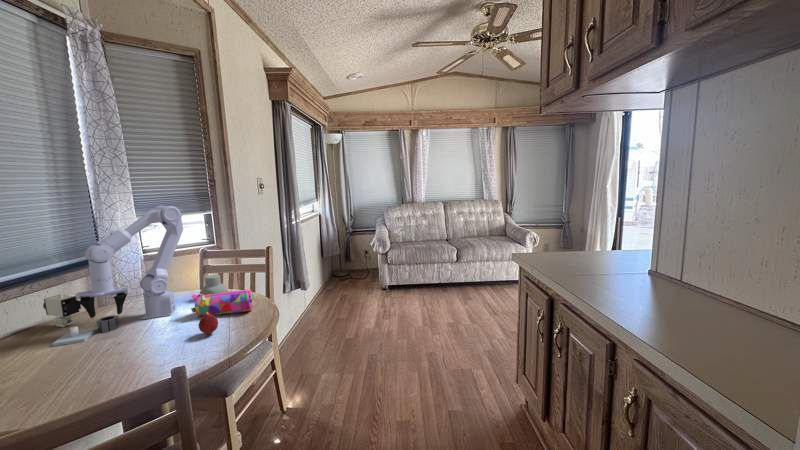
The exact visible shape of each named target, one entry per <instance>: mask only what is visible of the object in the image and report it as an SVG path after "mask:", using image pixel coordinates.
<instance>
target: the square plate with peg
mask: <svg viewBox="0 0 800 450" xmlns="http://www.w3.org/2000/svg"><path fill="white" fill-rule="evenodd" d="M96 332H97V330H96V328H92V329H87V330H86V329H84V330H80V331H79V326H78V325H77V326H75V325H74V326H70V327H69V332H66V333H64V334H63V335H61V336H60V337H59V338H58V339H57V340H55V341H54V342H52V347H58V346H65V345H72V344H76V343H83V342H86V341H87V340H88V339H89V338H91V336H93V335H94V333H96Z"/></svg>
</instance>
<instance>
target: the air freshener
mask: <svg viewBox="0 0 800 450" xmlns="http://www.w3.org/2000/svg"><path fill="white" fill-rule="evenodd" d="M204 279H205V280H204V281H205V286H203V287H202V288H201V289H200V290H199V294H203V295H208V294H217V293H221V292H227V291H228V286H226V285H225V284H223V283H221V275H220V274H210V275H207V276H205V278H204Z"/></svg>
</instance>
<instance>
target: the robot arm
mask: <svg viewBox="0 0 800 450" xmlns="http://www.w3.org/2000/svg"><path fill="white" fill-rule="evenodd" d="M182 217H183V214H182V213H181V211H180V210H179V209H178V207H176V206H174V205H157V206H155V207H154V208H152V209H150V210H149V211H147V212H146V213H144V214H143V215H142V216H140V217H139V218H138V219H137V220H135V221H134V222H132V223H131V224H129V226H127V227H126V228H124V229H117V230H112V231H110V232H109V235H108V236H106V237H105V238H103V239H101V240H98V241H96V242H95V243H96V244H94V245H93V244H92V245H90V246H88V247H87V248H86V250H85V253H84V255H83V256H84V257H85V259H86V260H88V271H89V278H90V285H91V290H87V291H80V292H77V293H75V295H74V296H76V300H77V299H78V301H79V303H80V304H81V307H83V308H84V310H85V311H86V312H87V314H88V316H89V317H90V319H93V318H95V317H96V309H95V307H96V306H95V298H98V297H106V296H114V297H113V300H114V302H115V306H116V313H117V315H121V314H122V313H123V308H124V305H125V304H124V303H125V300H126V299H127V296H128V294H129V293H131V287H129V286H125V287H115V286H114V280H113V279H114V278H113V270H112V264H111V259H112V256H113V254H115V253H116V252H118V251H119V250H120V249H122V248H124V247H125V246H127V244H129V243H130V242H131V241H132V237H133V236H134V235H137V234H138V233H139V232H141V231H142V230H144V229H146V228H147V227H148V226H150V225H152V224H156V223H159V224H161V225H162V226H163V227H164V229H165V230H166V231H165V233H164V236H163V238H162V241H161V243H160V246H159V247H158V251H157V253H156V256H155V258H154V261H153V263H152V266H151V268H149V269H148V270H147V271H146V274H145V275H144V277H141V280H140V281H139V287H140V288H141V289H142V290H143V294H142V295H143V301H144V309H145V310H144V311H145V314H144V316H143V317H142V318H141V319H142V320H148V319H155V318H162V317H168V316H172V315H173V314H174V312H175V310H176V303H175V295H174V291H172V290H169V291H168V286H169V284H168V279H169V273H168V269H169V268H170V265H171V262H172V259H173V257H174V255H175V251H176V249H177V247H178V244H179V242H180V239H181V237H182V234H183V231H184V227H183V221H182Z"/></svg>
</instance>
